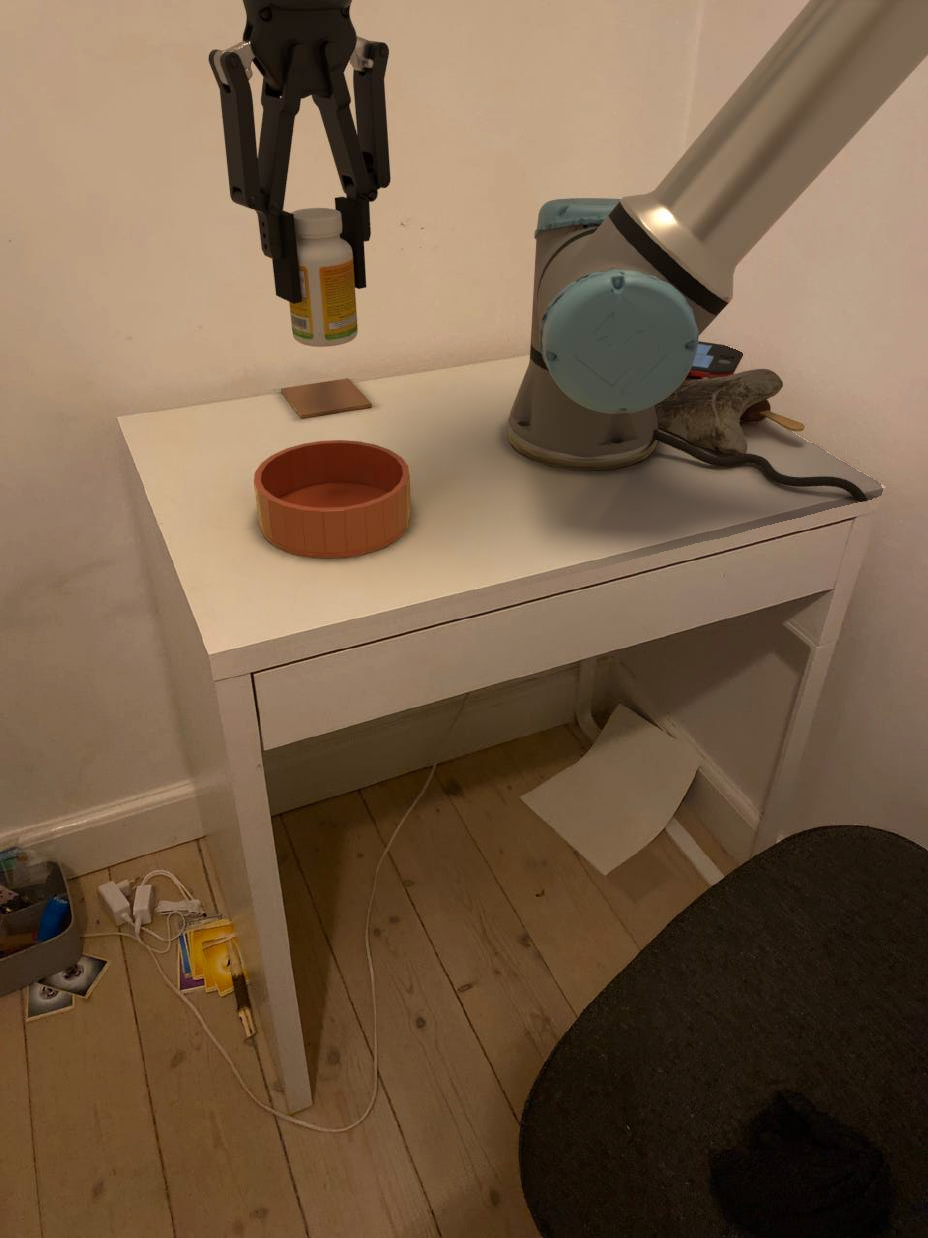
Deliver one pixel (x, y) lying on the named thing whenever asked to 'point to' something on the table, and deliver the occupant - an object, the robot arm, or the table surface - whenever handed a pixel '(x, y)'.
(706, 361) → the game console
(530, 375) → the robot arm
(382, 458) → the terracotta planter dish
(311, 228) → the supplement bottle
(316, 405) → the coaster
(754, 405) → the ice cream bar
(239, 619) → the table surface
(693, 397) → the fossil
